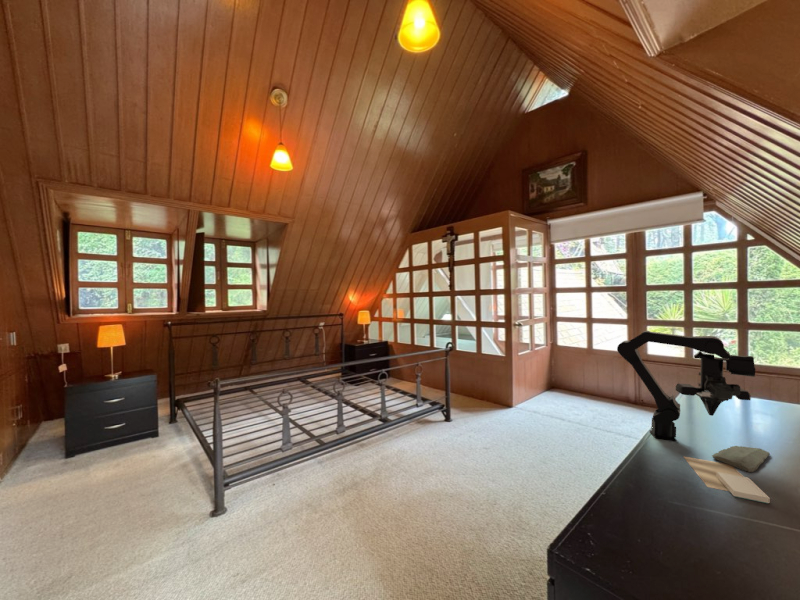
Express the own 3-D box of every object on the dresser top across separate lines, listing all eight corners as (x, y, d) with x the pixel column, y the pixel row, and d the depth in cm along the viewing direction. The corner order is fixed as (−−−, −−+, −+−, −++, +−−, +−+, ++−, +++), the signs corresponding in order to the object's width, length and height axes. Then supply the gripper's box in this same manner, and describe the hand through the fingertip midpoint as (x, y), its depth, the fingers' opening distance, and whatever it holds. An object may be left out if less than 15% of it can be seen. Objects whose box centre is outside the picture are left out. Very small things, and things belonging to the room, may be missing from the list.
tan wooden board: (683, 457, 108) (683, 456, 108) (731, 466, 103) (731, 464, 103) (707, 488, 92) (707, 486, 92) (766, 500, 86) (766, 498, 86)
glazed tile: (716, 471, 96) (734, 490, 87) (748, 477, 93) (769, 498, 84) (716, 477, 96) (733, 496, 87) (747, 483, 93) (769, 504, 84)
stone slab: (710, 462, 106) (753, 473, 98) (709, 453, 106) (752, 464, 98) (733, 448, 117) (774, 456, 109) (732, 440, 117) (773, 448, 109)
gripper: (690, 375, 109) (689, 420, 110) (762, 380, 103) (761, 427, 103) (675, 367, 120) (674, 409, 120) (740, 371, 113) (739, 415, 114)
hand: (710, 415), depth 114 cm, fingers closed
